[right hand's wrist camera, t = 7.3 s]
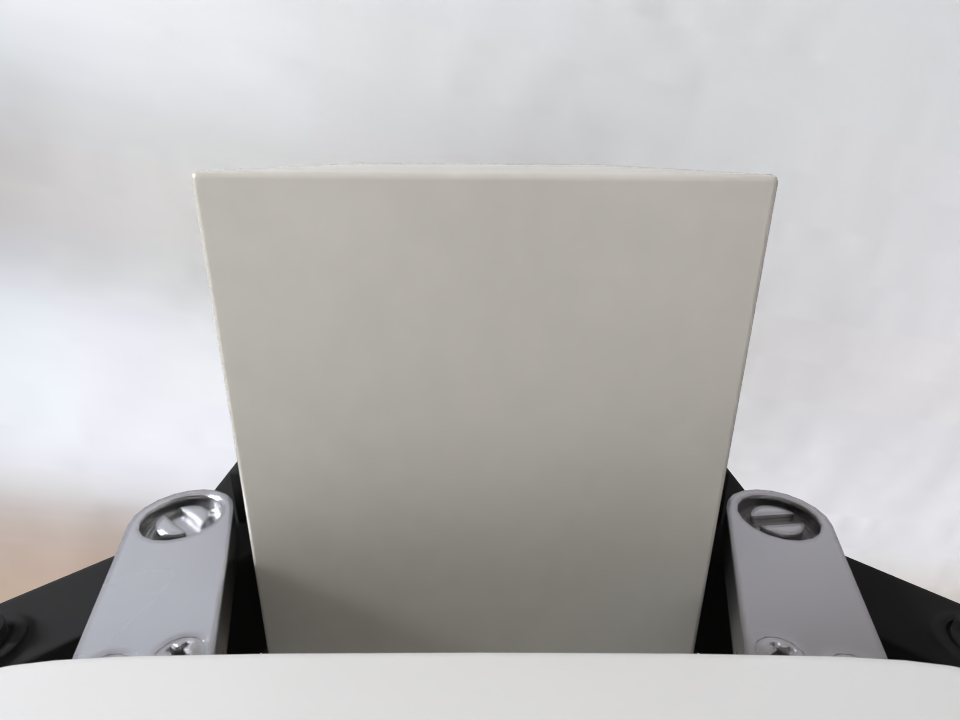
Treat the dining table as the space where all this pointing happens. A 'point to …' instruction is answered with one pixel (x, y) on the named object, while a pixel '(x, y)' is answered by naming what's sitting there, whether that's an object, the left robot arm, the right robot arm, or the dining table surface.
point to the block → (482, 396)
